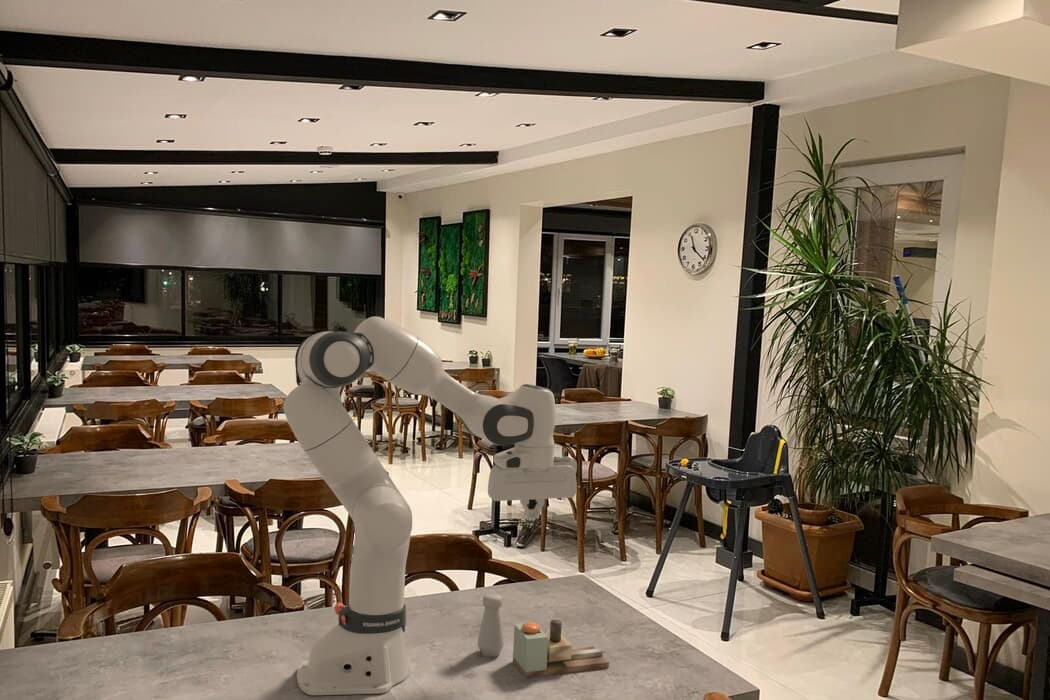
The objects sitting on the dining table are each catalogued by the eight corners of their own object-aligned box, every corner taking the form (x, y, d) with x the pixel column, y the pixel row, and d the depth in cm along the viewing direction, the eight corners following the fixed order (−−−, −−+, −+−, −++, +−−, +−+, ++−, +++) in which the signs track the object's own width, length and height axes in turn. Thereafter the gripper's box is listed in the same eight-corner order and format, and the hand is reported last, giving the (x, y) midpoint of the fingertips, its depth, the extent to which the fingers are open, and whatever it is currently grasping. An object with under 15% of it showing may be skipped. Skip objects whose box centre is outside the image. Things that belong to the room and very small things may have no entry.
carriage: (549, 661, 171) (550, 628, 171) (538, 648, 177) (539, 617, 177) (571, 658, 173) (572, 626, 173) (559, 646, 179) (561, 615, 179)
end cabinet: (525, 672, 169) (527, 639, 168) (513, 655, 176) (514, 624, 176) (546, 669, 170) (548, 636, 170) (532, 653, 178) (534, 622, 177)
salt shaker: (499, 660, 176) (502, 601, 176) (474, 657, 177) (476, 598, 177) (505, 649, 182) (508, 592, 181) (481, 646, 183) (483, 589, 182)
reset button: (524, 653, 171) (525, 630, 170) (518, 645, 174) (519, 623, 174) (541, 651, 172) (542, 628, 172) (535, 643, 175) (536, 621, 175)
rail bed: (525, 677, 169) (525, 667, 169) (512, 661, 176) (513, 651, 176) (608, 667, 175) (609, 657, 175) (592, 651, 183) (593, 642, 183)
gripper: (572, 453, 188) (569, 512, 189) (486, 455, 182) (484, 516, 183) (582, 458, 183) (579, 519, 183) (494, 461, 176) (492, 524, 177)
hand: (531, 518), depth 183 cm, fingers closed
